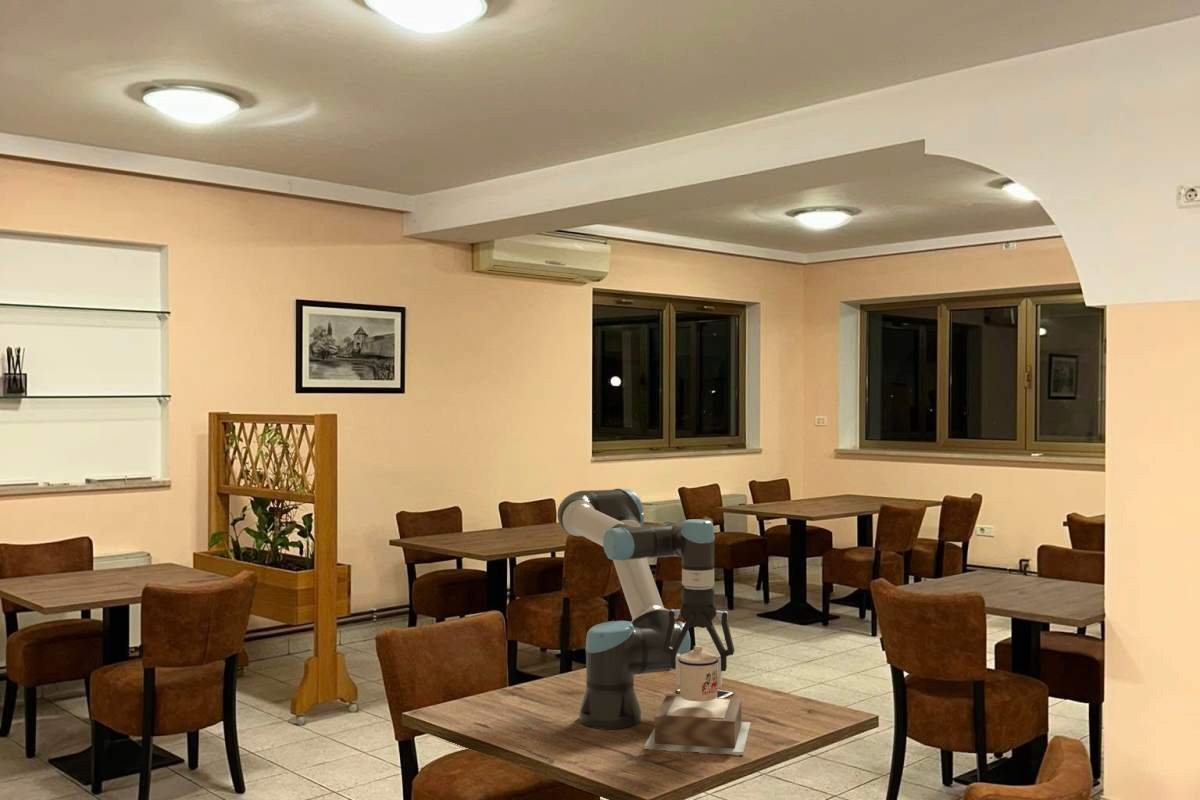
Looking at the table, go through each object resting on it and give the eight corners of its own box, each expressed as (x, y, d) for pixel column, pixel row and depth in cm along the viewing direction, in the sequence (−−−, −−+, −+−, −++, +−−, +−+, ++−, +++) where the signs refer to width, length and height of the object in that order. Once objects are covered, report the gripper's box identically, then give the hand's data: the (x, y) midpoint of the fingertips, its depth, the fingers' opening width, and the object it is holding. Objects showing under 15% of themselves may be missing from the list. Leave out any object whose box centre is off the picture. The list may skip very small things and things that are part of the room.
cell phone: (689, 687, 288) (689, 683, 288) (736, 696, 279) (736, 692, 279) (674, 693, 282) (673, 690, 282) (721, 702, 273) (721, 699, 273)
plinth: (644, 749, 235) (644, 718, 235) (659, 720, 257) (659, 691, 257) (743, 755, 231) (742, 723, 231) (750, 725, 252) (750, 696, 252)
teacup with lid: (708, 704, 236) (707, 652, 236) (672, 698, 241) (671, 648, 241) (729, 691, 246) (729, 641, 246) (694, 686, 251) (694, 637, 251)
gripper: (649, 588, 242) (650, 685, 242) (743, 590, 238) (744, 690, 238) (654, 582, 250) (655, 677, 250) (746, 585, 245) (747, 681, 245)
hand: (698, 683), depth 244 cm, fingers closed on teacup with lid, 9 cm apart
